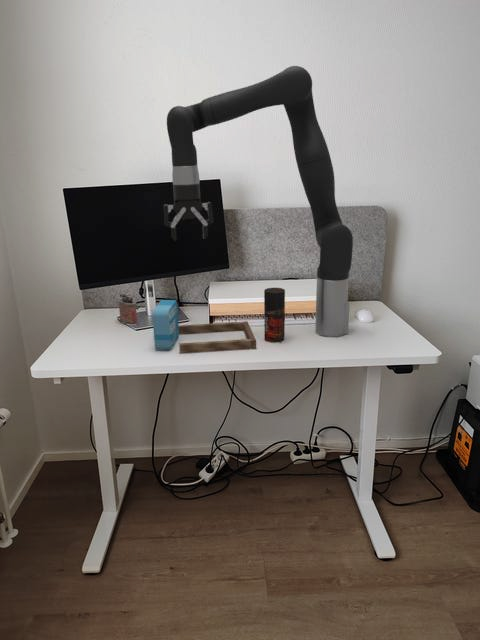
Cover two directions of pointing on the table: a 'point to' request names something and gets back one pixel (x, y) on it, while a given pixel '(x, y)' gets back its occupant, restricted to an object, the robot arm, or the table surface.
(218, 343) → the walnut u-shaped frame
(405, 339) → the table surface
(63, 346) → the table surface
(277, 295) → the deodorant
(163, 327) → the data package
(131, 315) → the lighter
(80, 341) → the table surface
